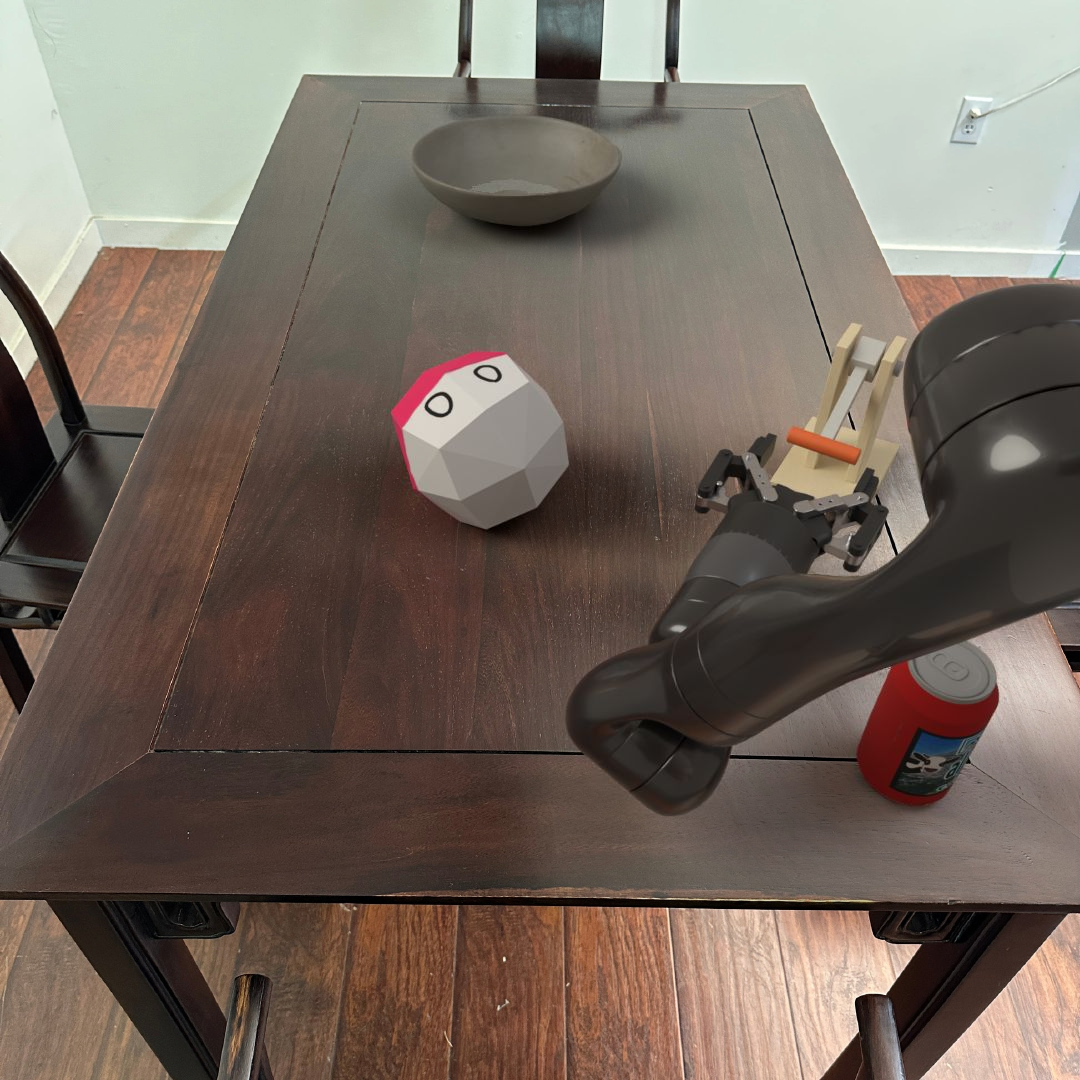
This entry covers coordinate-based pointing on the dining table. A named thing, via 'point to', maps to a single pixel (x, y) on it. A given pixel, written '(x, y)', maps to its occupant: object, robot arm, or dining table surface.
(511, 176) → the bowl
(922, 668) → the beverage can
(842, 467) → the bracket
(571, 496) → the dining table surface
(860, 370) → the lever
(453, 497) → the decorative object
